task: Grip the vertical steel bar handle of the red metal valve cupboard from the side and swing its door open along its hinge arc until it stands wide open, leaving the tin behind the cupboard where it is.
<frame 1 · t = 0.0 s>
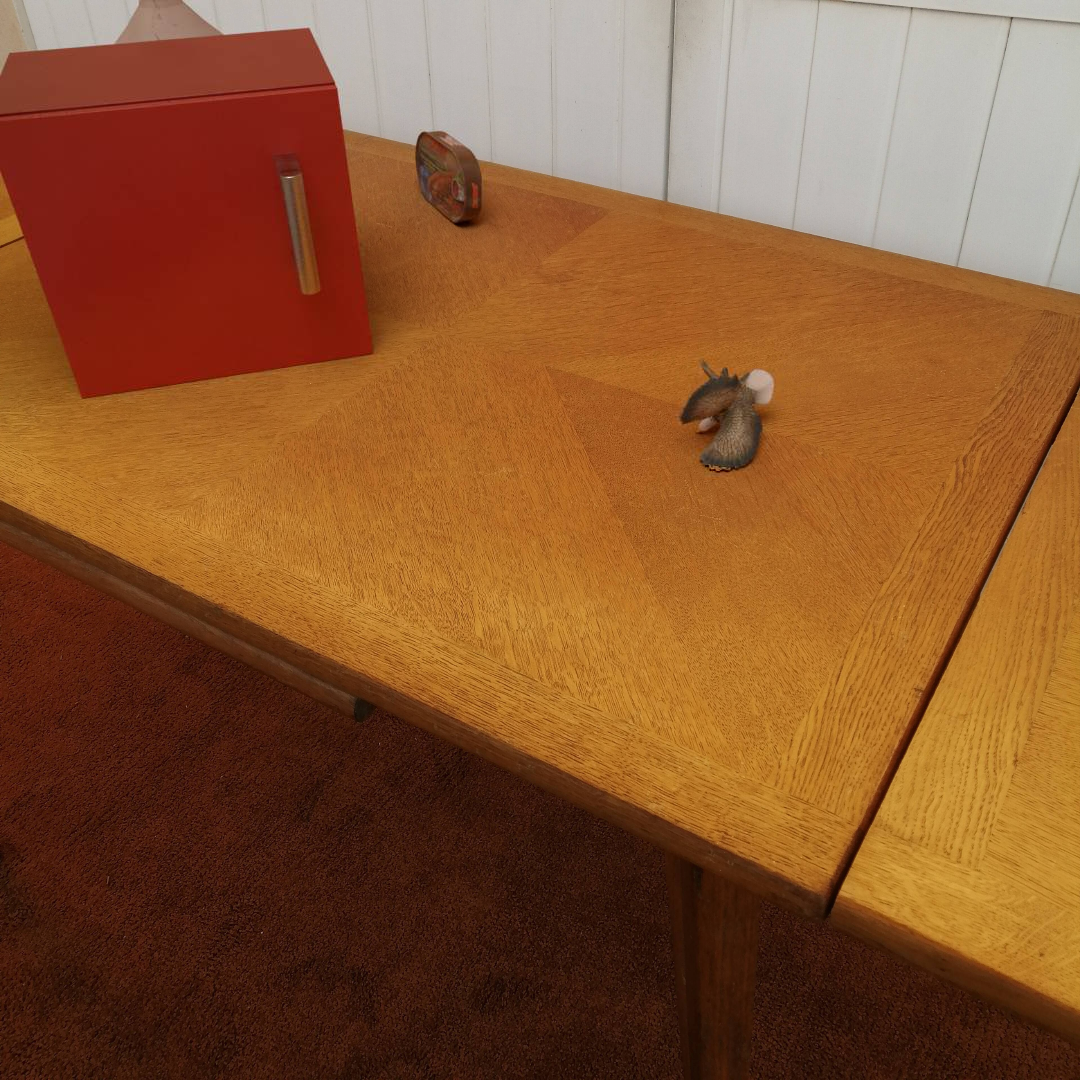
tin: (451, 211, 122), on the table
valve cabinet: (226, 326, 100), on the table
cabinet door: (203, 263, 83), point 12 cm above the table, hinge at 0.0°
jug: (200, 170, 134), on the table
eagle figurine: (720, 440, 84), on the table
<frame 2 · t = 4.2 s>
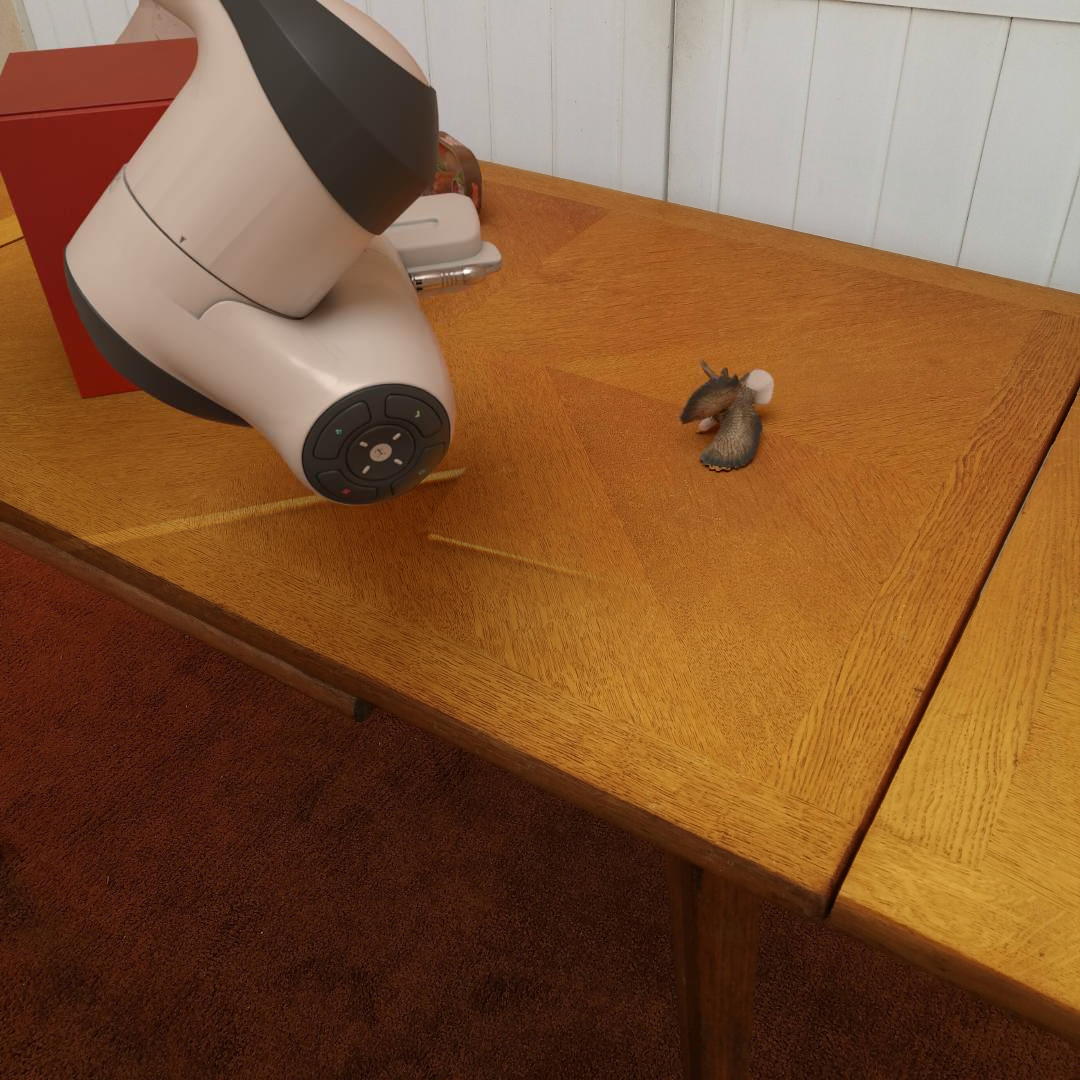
hand: (305, 208, 66), 22 cm above the table, tool horizontal, fingers open, 8 cm apart
nothing on the table moved.
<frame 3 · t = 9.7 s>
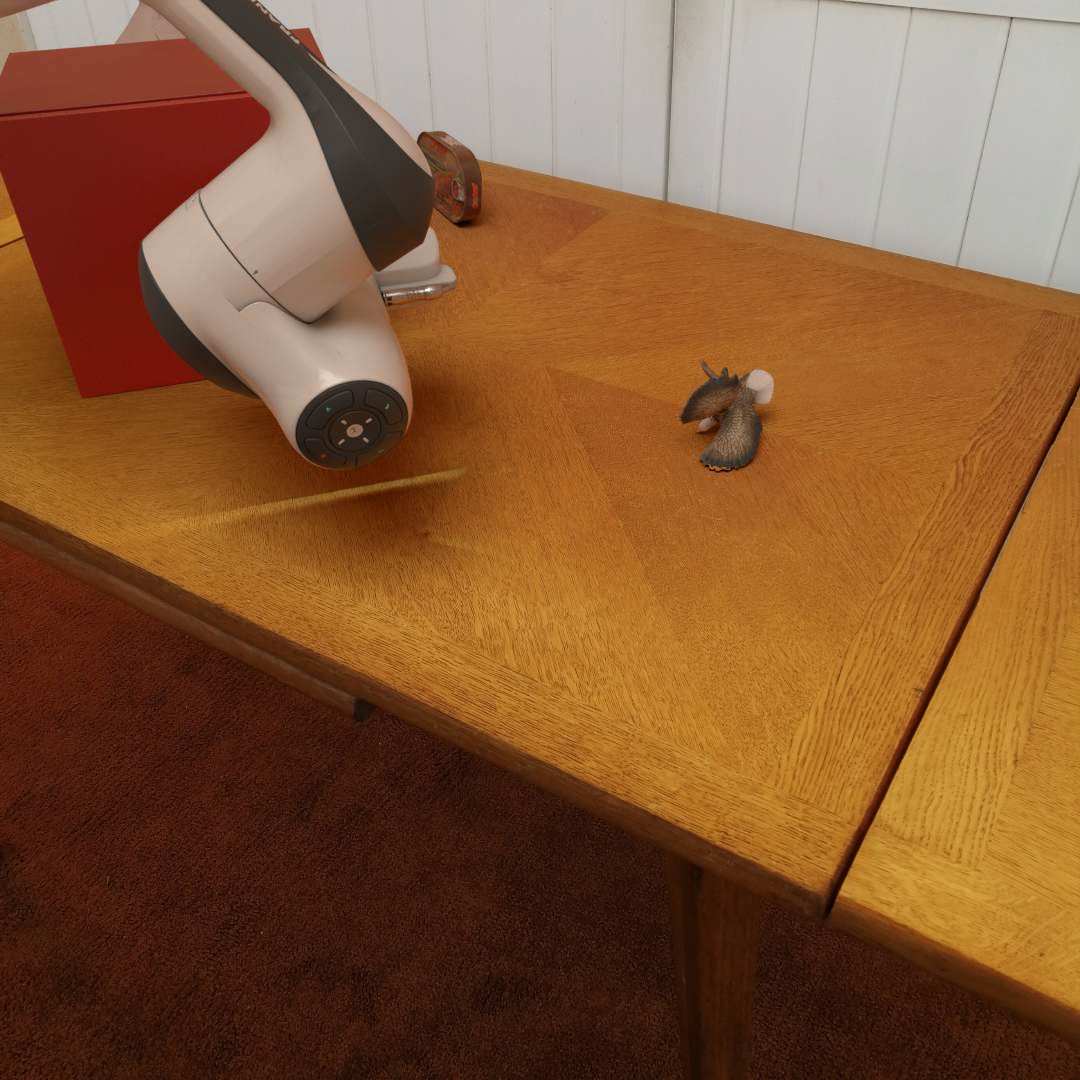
hand: (300, 235, 82), 15 cm above the table, tool horizontal, fingers closed on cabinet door, 2 cm apart
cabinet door: (203, 263, 83), point 12 cm above the table, hinge at 0.0°, touching gripper
everything else where it was.
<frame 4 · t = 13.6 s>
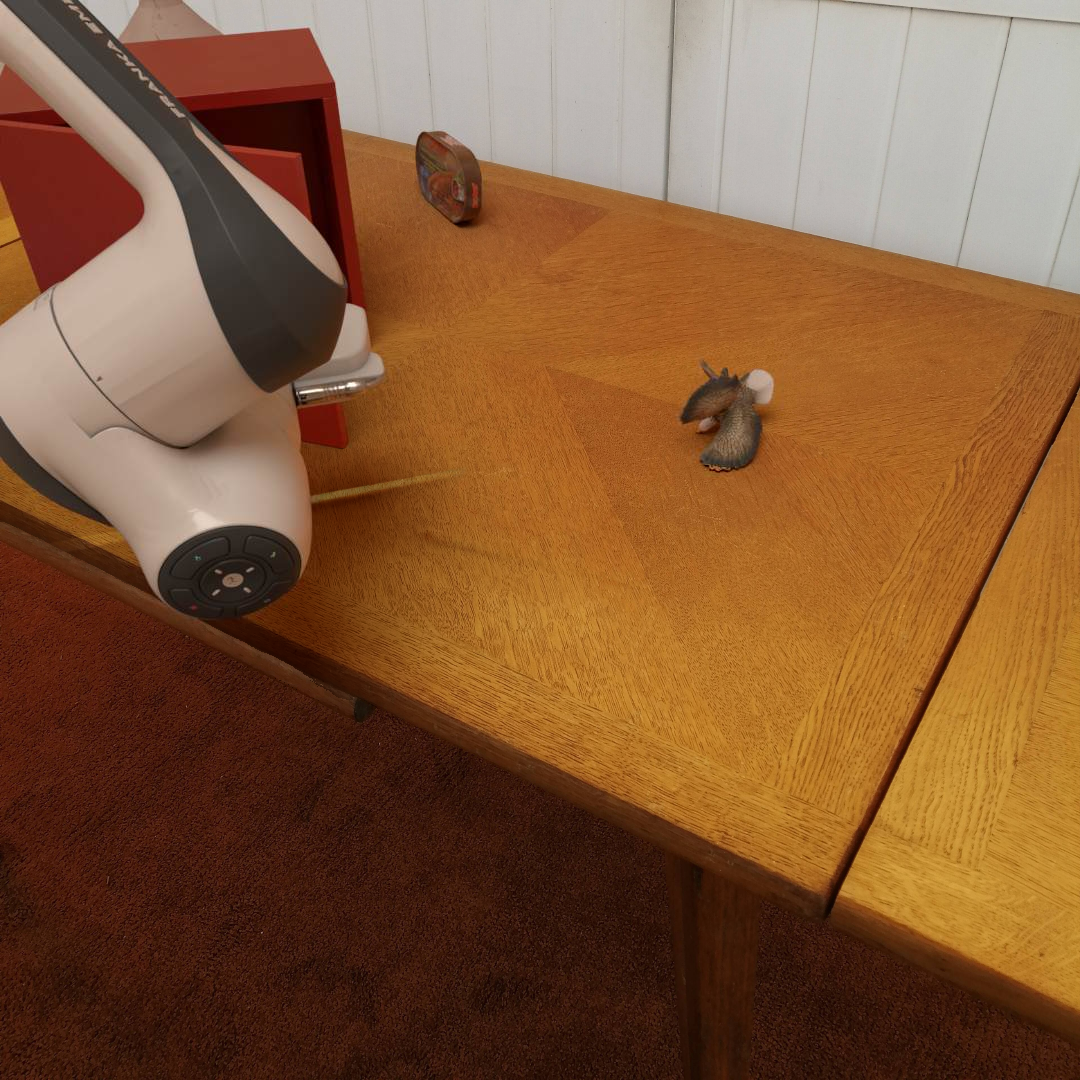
hand: (217, 312, 71), 15 cm above the table, tool horizontal, fingers closed
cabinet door: (155, 307, 77), point 12 cm above the table, hinge at 34.7°, touching gripper
everything else where it was.
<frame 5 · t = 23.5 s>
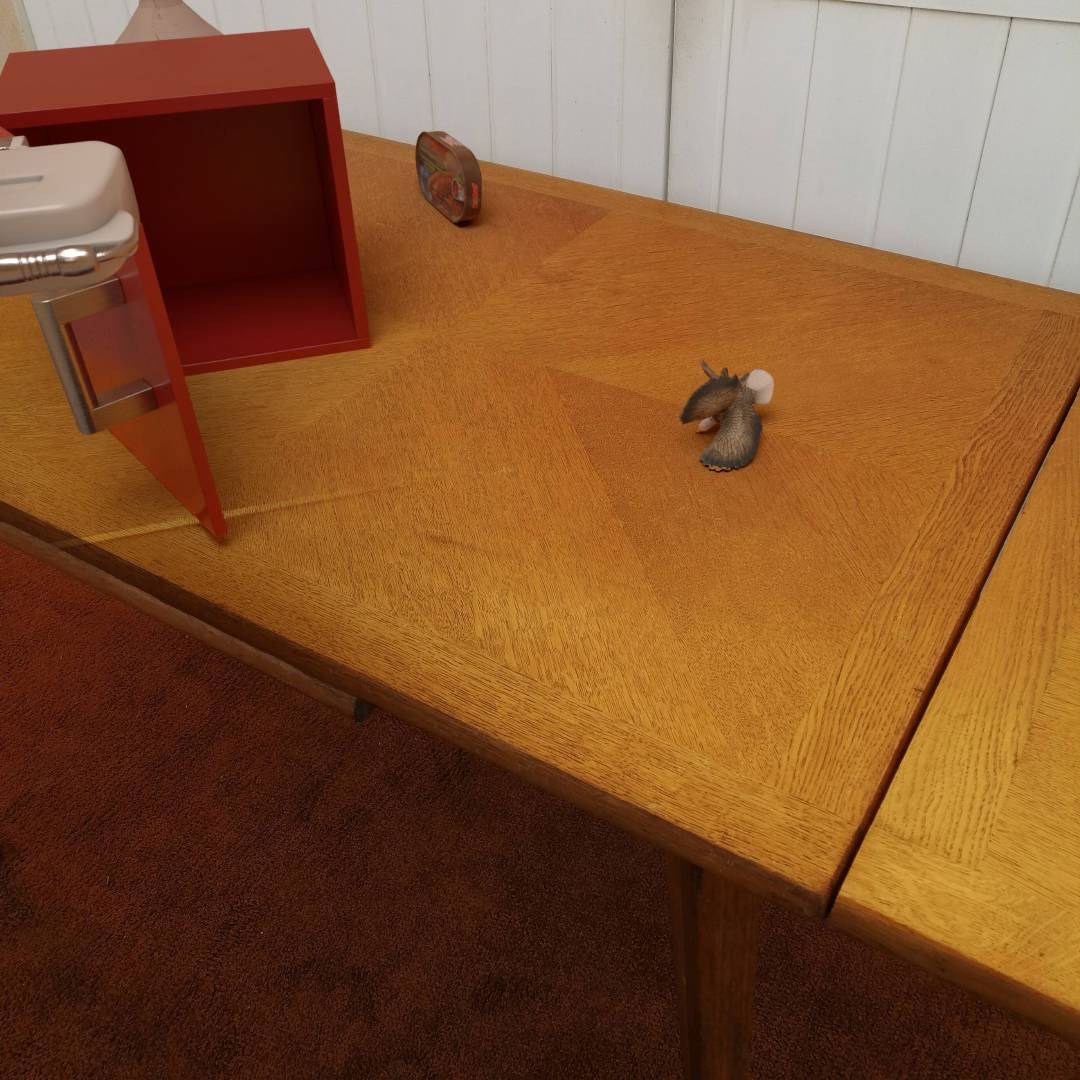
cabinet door: (67, 340, 74), point 12 cm above the table, hinge at 65.1°
everything else where it was.
at the end: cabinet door at +65° (first picture: +0°); tin moved 0.2 cm from its start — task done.
